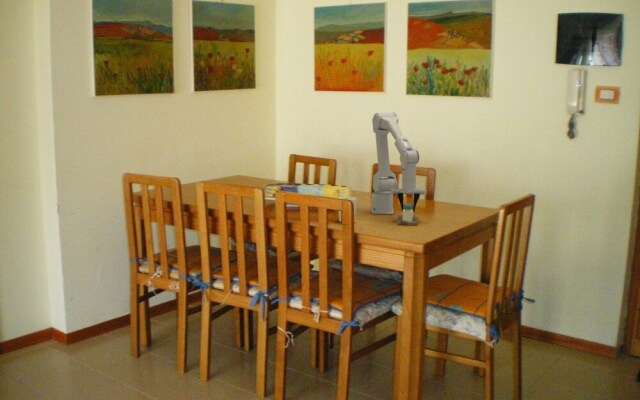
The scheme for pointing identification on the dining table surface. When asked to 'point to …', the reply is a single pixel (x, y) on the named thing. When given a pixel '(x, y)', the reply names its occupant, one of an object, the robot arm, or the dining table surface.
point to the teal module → (407, 206)
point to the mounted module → (407, 215)
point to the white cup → (353, 203)
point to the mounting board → (412, 223)
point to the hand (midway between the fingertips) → (408, 211)
